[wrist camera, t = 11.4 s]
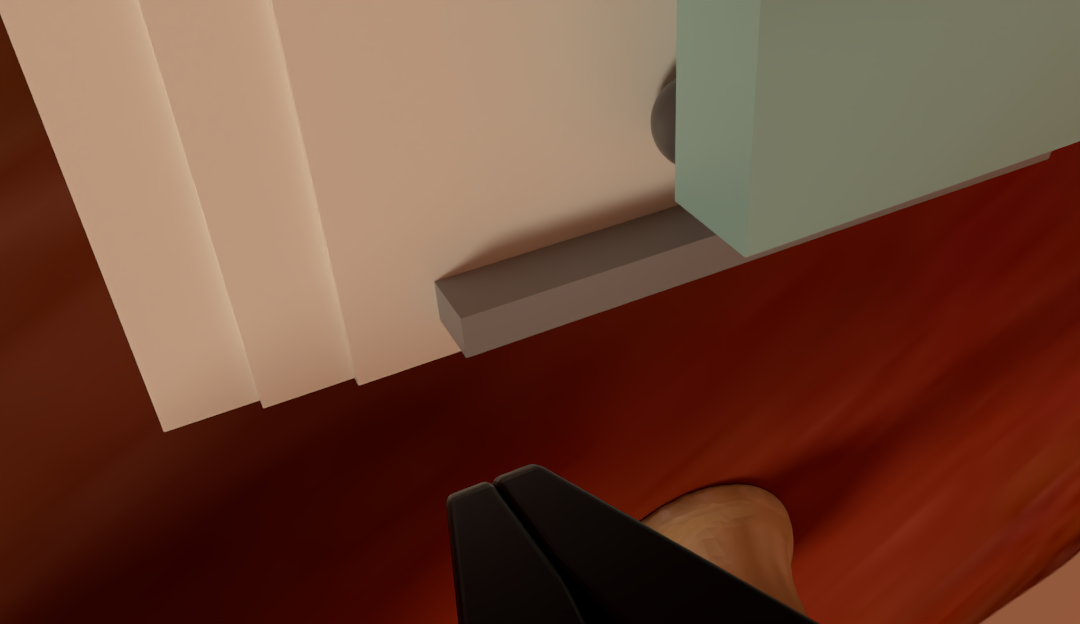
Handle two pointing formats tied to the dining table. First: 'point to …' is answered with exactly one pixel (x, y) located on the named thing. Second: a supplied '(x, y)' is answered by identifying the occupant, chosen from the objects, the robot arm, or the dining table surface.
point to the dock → (362, 178)
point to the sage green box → (857, 105)
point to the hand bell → (736, 535)
